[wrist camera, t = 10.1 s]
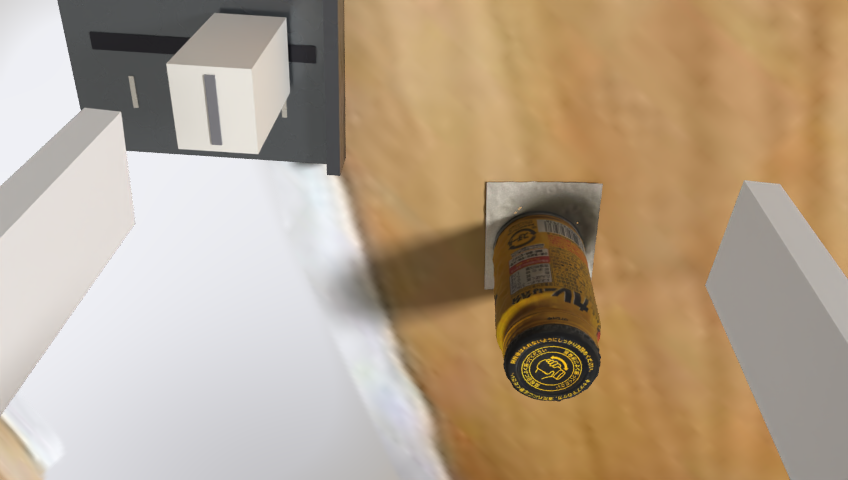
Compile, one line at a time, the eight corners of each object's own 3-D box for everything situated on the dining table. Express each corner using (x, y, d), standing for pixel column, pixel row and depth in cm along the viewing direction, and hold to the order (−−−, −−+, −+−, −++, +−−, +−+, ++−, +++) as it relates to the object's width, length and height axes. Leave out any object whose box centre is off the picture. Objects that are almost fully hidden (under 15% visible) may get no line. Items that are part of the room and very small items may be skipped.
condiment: (484, 287, 54) (487, 413, 44) (486, 180, 49) (491, 294, 39) (589, 288, 53) (617, 415, 43) (602, 181, 49) (636, 295, 39)
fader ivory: (214, 12, 42) (165, 64, 36) (286, 17, 42) (251, 70, 35) (222, 87, 45) (177, 149, 38) (290, 92, 45) (257, 155, 38)
